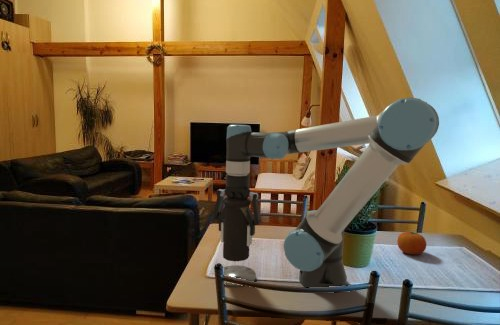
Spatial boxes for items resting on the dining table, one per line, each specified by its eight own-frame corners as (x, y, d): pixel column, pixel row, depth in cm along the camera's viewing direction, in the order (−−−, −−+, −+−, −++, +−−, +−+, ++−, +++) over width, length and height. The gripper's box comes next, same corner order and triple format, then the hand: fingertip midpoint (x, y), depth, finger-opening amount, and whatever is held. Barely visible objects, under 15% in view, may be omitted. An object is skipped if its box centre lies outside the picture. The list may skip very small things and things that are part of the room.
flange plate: (263, 278, 114) (263, 275, 114) (233, 291, 105) (233, 287, 105) (238, 265, 124) (238, 262, 123) (208, 276, 115) (208, 272, 115)
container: (252, 260, 111) (254, 199, 108) (225, 263, 108) (226, 200, 105) (245, 250, 119) (246, 193, 116) (219, 253, 116) (220, 194, 114)
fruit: (415, 259, 132) (416, 239, 131) (391, 250, 141) (392, 231, 140) (430, 254, 138) (432, 235, 137) (406, 246, 147) (408, 227, 146)
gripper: (273, 174, 110) (270, 243, 113) (212, 169, 117) (211, 234, 120) (266, 178, 103) (264, 251, 106) (202, 173, 110) (201, 242, 113)
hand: (236, 242), depth 113 cm, fingers closed on container, 8 cm apart
